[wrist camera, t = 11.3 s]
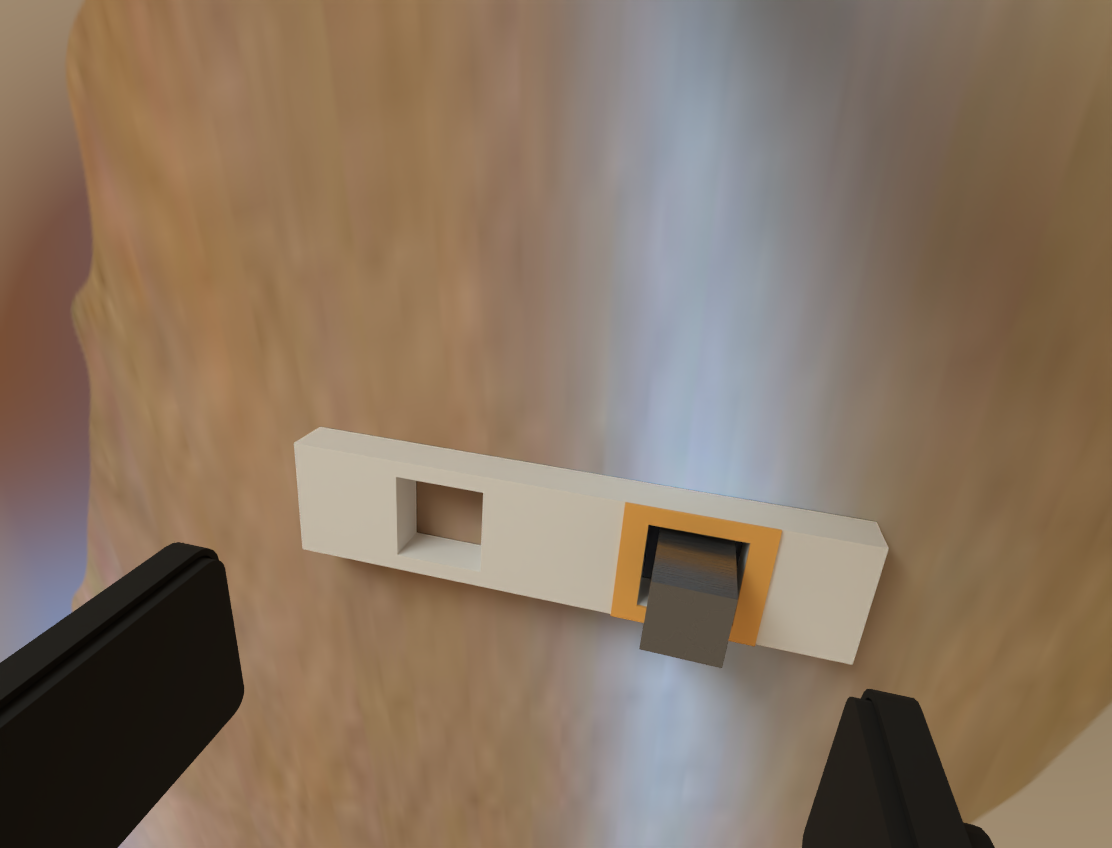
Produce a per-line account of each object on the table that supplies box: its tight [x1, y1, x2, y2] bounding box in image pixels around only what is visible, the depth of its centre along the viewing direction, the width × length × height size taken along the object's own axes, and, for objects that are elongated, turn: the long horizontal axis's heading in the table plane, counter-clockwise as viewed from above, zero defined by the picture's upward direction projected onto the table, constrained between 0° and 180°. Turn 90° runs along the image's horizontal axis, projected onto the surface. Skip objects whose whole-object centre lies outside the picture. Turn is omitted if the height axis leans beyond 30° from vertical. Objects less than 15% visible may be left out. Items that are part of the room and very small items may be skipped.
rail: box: [294, 427, 889, 665], centre depth 41 cm, size 8×36×3 cm, turn 85°
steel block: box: [640, 527, 738, 668], centre depth 38 cm, size 4×4×8 cm
